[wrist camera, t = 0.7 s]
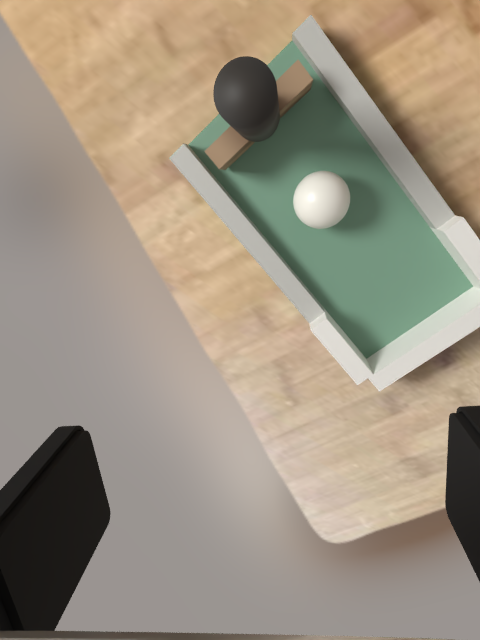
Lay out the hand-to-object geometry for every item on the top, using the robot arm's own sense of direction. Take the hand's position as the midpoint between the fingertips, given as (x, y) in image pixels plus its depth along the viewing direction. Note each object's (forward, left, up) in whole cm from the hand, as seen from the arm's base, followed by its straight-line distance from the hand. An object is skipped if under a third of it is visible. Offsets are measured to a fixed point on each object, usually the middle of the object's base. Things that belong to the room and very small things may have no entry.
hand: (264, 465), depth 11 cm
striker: (-6, -9, -24) cm, 26 cm away
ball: (-6, -2, -22) cm, 23 cm away
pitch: (-6, 0, -25) cm, 26 cm away
